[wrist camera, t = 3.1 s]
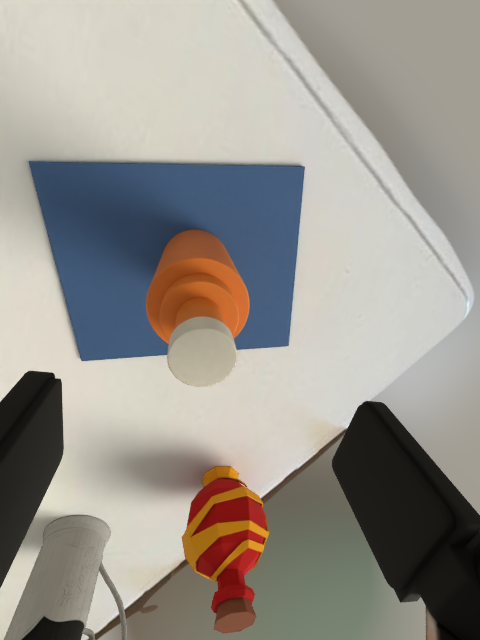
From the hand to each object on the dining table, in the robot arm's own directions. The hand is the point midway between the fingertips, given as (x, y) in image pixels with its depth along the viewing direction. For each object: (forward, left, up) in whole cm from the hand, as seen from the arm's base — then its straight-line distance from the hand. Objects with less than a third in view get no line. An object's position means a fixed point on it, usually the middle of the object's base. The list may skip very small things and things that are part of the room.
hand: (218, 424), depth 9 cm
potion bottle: (+8, -30, -21) cm, 37 cm away
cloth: (-1, -1, -21) cm, 21 cm away
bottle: (0, 0, -20) cm, 20 cm away
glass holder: (-8, -43, -21) cm, 49 cm away
